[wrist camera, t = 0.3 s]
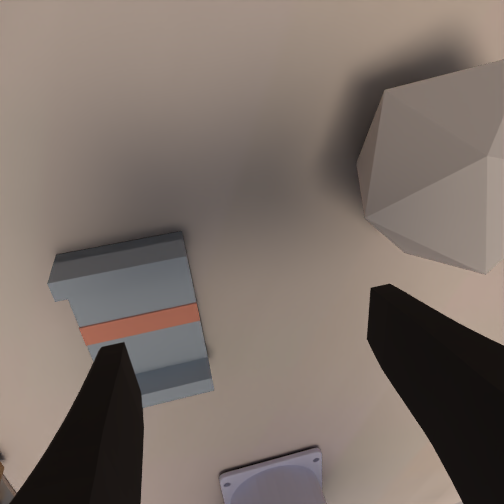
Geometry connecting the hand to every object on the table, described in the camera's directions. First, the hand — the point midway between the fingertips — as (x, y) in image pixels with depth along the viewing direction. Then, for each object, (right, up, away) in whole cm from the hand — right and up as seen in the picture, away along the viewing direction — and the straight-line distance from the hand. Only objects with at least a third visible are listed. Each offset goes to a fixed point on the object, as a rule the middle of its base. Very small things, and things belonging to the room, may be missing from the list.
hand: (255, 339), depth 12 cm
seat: (-6, -1, +11) cm, 12 cm away
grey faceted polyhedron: (+8, +8, +9) cm, 15 cm away
